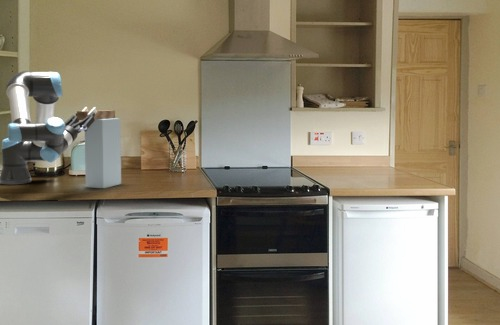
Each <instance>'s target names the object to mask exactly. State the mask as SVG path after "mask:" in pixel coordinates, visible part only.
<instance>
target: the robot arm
mask: <svg viewBox="0 0 500 325" xmlns="http://www.w3.org/2000/svg"><path fill="white" fill-rule="evenodd" d="M62 86H63V85H62V78H61V74H60V73H59V72H57V71H33V70H31V71H29V70H25V71H24V70H23V71H20V72H17V73H16V74H14V75H13V76H12V77H11V78H10V79H9V80H8V82H7V83H6V87H5V94H6V97H7V98H8V100H9V108H10V109H9V110H10V118H11V122H10V123H8V124H7V138H4V139H2V141H1V148H0V149H1V155H2V156H1V158H2V159H1V160H2V161H1V162H2V167H1V172H0V185H9V186H10V185H23V184H24V185H25V184H29V183H32V176H31V174H30V171H29V169H28V163H29V162H46V163H53V162H55V161H56V160H58V159H59V158H60V156H61V155H63V153H64V152H65V151H66V150H67V148H69V146H71V144H72V143H73V142H74V141H76V139H77V138H78V134H79V133H81V132H82V131H84V133H85V132H86V131H87V130H88V128H89V127H90V125H91V124H92V123H93V122H94V121H95V120H94V116H95V114H96V113H97V111H98V110H97V107H96V106H94V107H92V109H91V110H89V108H88V107H87V106H85V107H84V108H83V109H82V110H81V111H90V112H89V113H88V116H87V117H85V118H84V119H83V120H77V112H76V113H75V115H71V116H70V117H69V118H68V119H67V120H66V121H65V122H64V120H63V119H62V118H60V117H56V116H55V111H56V110H55V108H56V107H55V106H56V103H58V101H59V99H60V98H61V97H63V87H62ZM28 97H32V99H33V100H34V101H35V102H36V103H35V122H33V123H32V120H31V119H32V118H31V114H30V107H29V106H30V105H29V98H28Z"/></svg>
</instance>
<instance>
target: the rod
mask: <svg viewBox="0 0 500 325" xmlns="http://www.w3.org/2000/svg"><path fill="white" fill-rule="evenodd" d="M90 111H91V110H88V111H82V110H79V111H76V113H77V120H79V121H82V120H83V119H84V118H85V117H87V116H88V113H89V112H90ZM113 118H116V110H108V109H107V110H105V109H104V110H103V109H102V110H97V113H96V114H95V116H94V120H97V119H113Z"/></svg>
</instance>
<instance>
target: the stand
mask: <svg viewBox="0 0 500 325" xmlns="http://www.w3.org/2000/svg"><path fill="white" fill-rule="evenodd" d="M121 137H122V136H121V118H116V117H115V118H113V119H97V120H95V121H94V122H93V123H92V124H91V125H90V127H89V128H88V130H87V131H86V132H85V131H84V165H85V166H84V167H85V169H84V170H85V188H95V189H107V188H111V187H113V186H114V187H115V186H117V185H118V186H119V185H122V155H121V154H122V153H121V152H122V150H121V148H122V147H121V145H122V144H121V141H122V140H121Z"/></svg>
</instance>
